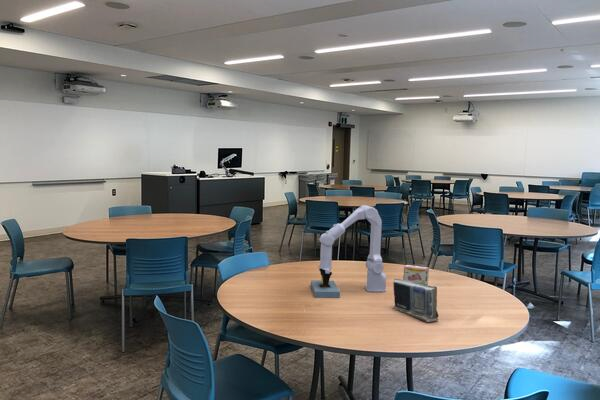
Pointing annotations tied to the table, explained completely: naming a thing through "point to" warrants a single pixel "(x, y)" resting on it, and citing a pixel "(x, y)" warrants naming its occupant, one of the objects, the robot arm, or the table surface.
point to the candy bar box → (416, 274)
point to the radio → (416, 300)
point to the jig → (325, 290)
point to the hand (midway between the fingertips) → (325, 284)
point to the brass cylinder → (322, 282)
